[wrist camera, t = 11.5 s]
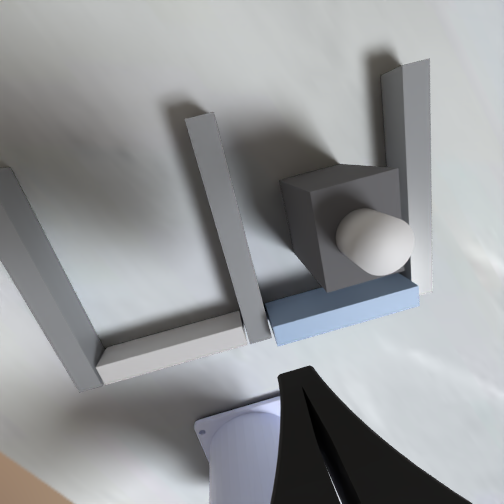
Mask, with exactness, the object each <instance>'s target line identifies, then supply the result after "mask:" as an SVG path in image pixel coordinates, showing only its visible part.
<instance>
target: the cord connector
mask: <svg viewBox="0 0 504 504" xmlns="http://www.w3.org/2000/svg"><path fill="white" fill-rule="evenodd" d="M279 182H280V187H281V192H282V196H283V201H284V206H285V211H286V216H287V221H288V226H289V230H290V235H291V240H292V245H293V250H294V253H295V255H296V256H297V257H298V258H299V259H300V261H301V262H302V263H303V264H304V265H305V267H306V268H307V269H308V270H309V272H310V273H311V274H312V275H313V276H314V278H315V279H316V280H317V281H318V282H319V284H320V285H321V286H322V287H323V288H324V290H325V291H326V292H327V293H329V292H332V291H336V290H339V289H343V288H346V287H349V286H353V285H356V284H360V283H363V282H367V281H370V280H374V279H377V278H381V277H384V276H388V275H391V274H395V273H398V272H402V271H404V264H405V263H406V262H407V261H408V259H409V258H410V256H411V254H412V251H413V248H414V234H413V231H412V229H411V227H410V226H409V225H408V224H407V223H406V222H405V221H403V220H402V219H401V202H400V185H399V168H390V167H376V166H361V165H347V164H338V165H335V166H331V167H327V168H323V169H320V170H316V171H312V172H308V173H305V174H301V175H297V176H294V177H290V178H286V179H282V180H279Z"/></svg>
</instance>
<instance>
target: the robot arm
mask: <svg viewBox="0 0 504 504" xmlns="http://www.w3.org/2000/svg"><path fill="white" fill-rule="evenodd" d="M277 378H278V382H279V389H280V396H278V397H274V398H271V399H267V400H264V401H261V402H257V403H254V404H250V405H247V406H244V407H240V408H237V409H233V410H230V411H227V412H223V413H220V414H216V415H213V416H210V417H206V418H203V419H199V420H197V421H196V422H195V424H194V430H195V432H196V434H197V437H198V439H199V441H200V444H201V446H202V448H203V450H204V453H205V455H206V457H207V460H208V462H209V464H210V481H209V504H340V502H339V499H338V496H337V494H336V491H335V489H334V486H335V488H336V490H337V493H338V495H339V497H340V500H341V502H342V504H472V503H471V502H469V501H468V500H466V499H465V498H463V497H461V496H460V495H458V494H457V493H455V492H454V491H452V490H451V489H449V488H448V487H446V486H445V485H444V484H442V483H441V482H439V481H438V480H436V479H435V478H434V477H432V476H431V475H429V474H428V473H426V472H425V471H424V470H422V469H421V468H419V467H418V466H416V465H415V464H414V463H412V462H411V461H410V460H409V459H407V458H406V457H405V456H403V455H402V454H401V453H399V452H398V451H397V450H396V449H394V448H393V447H392V446H391V445H389V444H388V443H387V442H386V441H385V440H383V439H382V438H381V437H380V436H379V435H377V434H376V433H375V432H374V431H373V430H372V429H371V428H369V427H368V426H367V425H366V424H365V423H364V422H363V421H362V420H361V419H360V418H359V417H358V416H356V415H355V414H354V413H353V412H352V411H351V410H350V409H349V408H348V407H347V406H346V405H345V404H344V403H343V402H342V401H341V400H340V399H339V398H338V396H337V395H336V394H335V393H334V392H333V391H332V390H331V389H330V388H329V387H328V385H327V384H326V383H325V382H324V381H323V380H322V378H321V377H320V376H319V375H318V373H317V372H316V371H315V369H314V368H313V367H312V366H307V367H303V368H300V369H296V370H293V371H289V372H286V373H283V374H280V375H279V376H278V377H277ZM325 465H326V466H325ZM326 467H327V468H326ZM327 470H328V471H327ZM328 472H329V473H328ZM329 474H330V476H329ZM330 477H331V479H332V481H333V484H334V486H333V484H332V481H331V479H330Z"/></svg>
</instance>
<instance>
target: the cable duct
mask: <svg viewBox="0 0 504 504" xmlns="http://www.w3.org/2000/svg"><path fill="white" fill-rule="evenodd" d="M381 88H382V103H383V118H384V133H385V148H386V163H387V167H390V168H399V185H400V202H401V219H402V220H403V221H405V222H406V223H407V224H408V225H409V226H410V227H411V229H412V231H413V234H414V248H413V251H412V254H411V256H410V258H409V259H408V261H407V262H406V263H405V264H404V271H402V272H398V273H395V274H391V275H388V276H384V277H381V278H377V279H374V280H370V281H367V282H363V283H360V284H356V285H353V286H349V287H346V288H343V289H339V290H336V291H332V292H329V293H327V292H326V291H325V290H324V288H323V287H322V288H318V289H314V290H311V291H307V292H304V293H300V294H296V295H293V296H289V297H286V298H282V299H279V300H275V301H271V302H268V303H265V306H266V310H267V314H268V318H269V322H270V325H271V328H272V330H273V333H274V336H275V339H276V342H277V345H278V346H281V345H285V344H288V343H292V342H295V341H299V340H302V339H306V338H309V337H313V336H316V335H320V334H323V333H327V332H330V331H334V330H337V329H341V328H344V327H348V326H351V325H355V324H358V323H362V322H365V321H369V320H372V319H376V318H379V317H383V316H386V315H390V314H393V313H397V312H400V311H404V310H407V309H410V308H414V307H417V306H420V305H419V296H420V295H424V294H427V293H431V292H433V270H432V195H431V121H430V58H429V59H425V60H421V61H417V62H413V63H409V64H405V65H402V66H400V67H397V68H395V69H393V70H391V71H389V72H387V73H385V74H383V75H381ZM185 122H186V126H187V129H188V133H189V136H190V140H191V143H192V146H193V150H194V153H195V157H196V160H197V164H198V167H199V170H200V174H201V177H202V181H203V184H204V188H205V191H206V194H207V198H208V201H209V205H210V208H211V211H212V215H213V218H214V222H215V225H216V229H217V232H218V235H219V239H220V242H221V246H222V249H223V253H224V256H225V259H226V263H227V266H228V270H229V273H230V276H231V280H232V283H233V287H234V290H235V294H236V297H237V300H238V304H239V307H240V311H241V314H242V318H243V321H244V324H245V328H246V331H247V335H248V338H249V342H250V344H252V343H255V342H259V341H262V340H266V339H269V338H272V337H271V333H270V329H269V325H268V321H267V317H266V313H265V309H264V305H263V302H262V298H261V294H260V290H259V286H258V282H257V278H256V274H255V270H254V266H253V263H252V259H251V255H250V251H249V247H248V243H247V239H246V235H245V231H244V228H243V224H242V220H241V216H240V212H239V208H238V204H237V200H236V196H235V193H234V189H233V185H232V181H231V177H230V173H229V169H228V165H227V161H226V157H225V154H224V150H223V146H222V142H221V138H220V134H219V130H218V126H217V122H216V119H215V115H214V112H211V113H207V114H203V115H199V116H195V117H191V118H187V119H185ZM0 260H1V262H2V263H3V265H4V267H5V268H6V270H7V272H8V273H9V275H10V277H11V278H12V280H13V282H14V284H15V285H16V287H17V289H18V290H19V292H20V294H21V295H22V297H23V299H24V300H25V302H26V304H27V305H28V307H29V309H30V310H31V312H32V314H33V315H34V317H35V319H36V320H37V322H38V324H39V325H40V327H41V329H42V331H43V332H44V334H45V336H46V337H47V339H48V341H49V342H50V344H51V346H52V347H53V349H54V351H55V352H56V354H57V356H58V357H59V359H60V361H61V362H62V364H63V366H64V367H65V369H66V371H67V372H68V374H69V376H70V378H71V379H72V381H73V383H74V384H75V386H76V388H77V389H78V391H79V393H80V392H83V391H87V390H90V389H94V388H97V387H101V386H103V384H105V385H108V384H112V383H115V382H119V381H122V380H126V379H129V378H133V377H136V376H140V375H143V374H147V373H150V372H154V371H157V370H161V369H164V368H168V367H171V366H175V365H178V364H182V363H185V362H189V361H192V360H196V359H199V358H203V357H206V356H210V355H213V354H217V353H220V352H224V351H227V350H231V349H234V348H238V347H241V346H245V345H247V340H246V335H245V329H244V325H243V322H242V318H241V315H240V311H236V312H232V313H228V314H225V315H221V316H218V317H214V318H210V319H207V320H203V321H200V322H196V323H193V324H189V325H185V326H182V327H178V328H175V329H171V330H167V331H164V332H160V333H157V334H153V335H150V336H146V337H142V338H139V339H135V340H132V341H128V342H124V343H121V344H117V345H114V346H110V347H107V348H106V350H105V349H104V347H103V345H102V343H101V341H100V339H99V338H98V336H97V334H96V332H95V330H94V328H93V326H92V324H91V322H90V320H89V318H88V316H87V314H86V312H85V311H84V309H83V307H82V305H81V303H80V301H79V299H78V297H77V295H76V293H75V291H74V289H73V287H72V285H71V283H70V282H69V280H68V278H67V276H66V274H65V272H64V270H63V268H62V266H61V264H60V262H59V260H58V258H57V256H56V255H55V253H54V251H53V249H52V247H51V245H50V243H49V241H48V239H47V237H46V235H45V233H44V231H43V229H42V227H41V226H40V224H39V222H38V220H37V218H36V216H35V214H34V212H33V210H32V208H31V206H30V204H29V202H28V200H27V199H26V197H25V195H24V193H23V191H22V189H21V187H20V185H19V183H18V181H17V179H16V177H15V175H14V173H13V171H12V170H11V168H10V167H8V168H0Z"/></svg>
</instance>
